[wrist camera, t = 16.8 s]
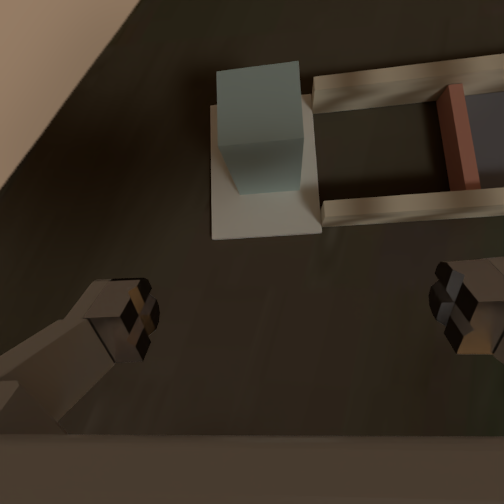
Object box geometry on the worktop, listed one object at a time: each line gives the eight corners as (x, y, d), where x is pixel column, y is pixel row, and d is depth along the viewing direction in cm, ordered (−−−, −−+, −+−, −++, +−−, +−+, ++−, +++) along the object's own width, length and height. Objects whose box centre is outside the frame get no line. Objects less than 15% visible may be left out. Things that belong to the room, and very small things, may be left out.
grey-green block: (240, 195, 25) (217, 146, 18) (238, 140, 26) (216, 71, 19) (299, 190, 25) (304, 138, 17) (296, 134, 26) (298, 61, 18)
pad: (213, 240, 25) (211, 239, 25) (211, 108, 28) (210, 105, 27) (321, 233, 24) (321, 231, 24) (310, 96, 27) (310, 93, 26)
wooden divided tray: (320, 227, 25) (324, 216, 22) (311, 101, 27) (313, 76, 24) (566, 211, 22) (607, 197, 20) (535, 76, 24) (569, 45, 22)
